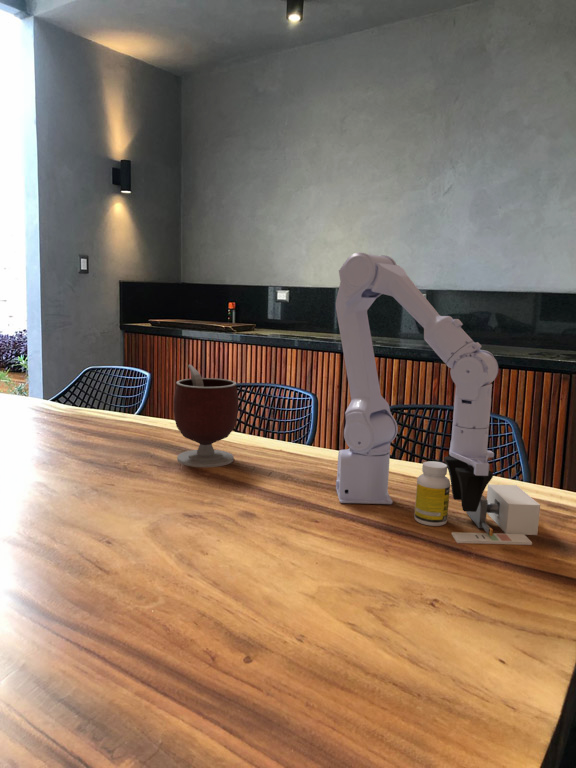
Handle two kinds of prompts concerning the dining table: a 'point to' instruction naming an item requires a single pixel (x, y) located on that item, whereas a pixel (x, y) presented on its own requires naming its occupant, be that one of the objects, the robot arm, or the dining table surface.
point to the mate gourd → (205, 417)
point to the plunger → (484, 514)
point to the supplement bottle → (432, 494)
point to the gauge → (507, 517)
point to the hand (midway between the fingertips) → (464, 504)
